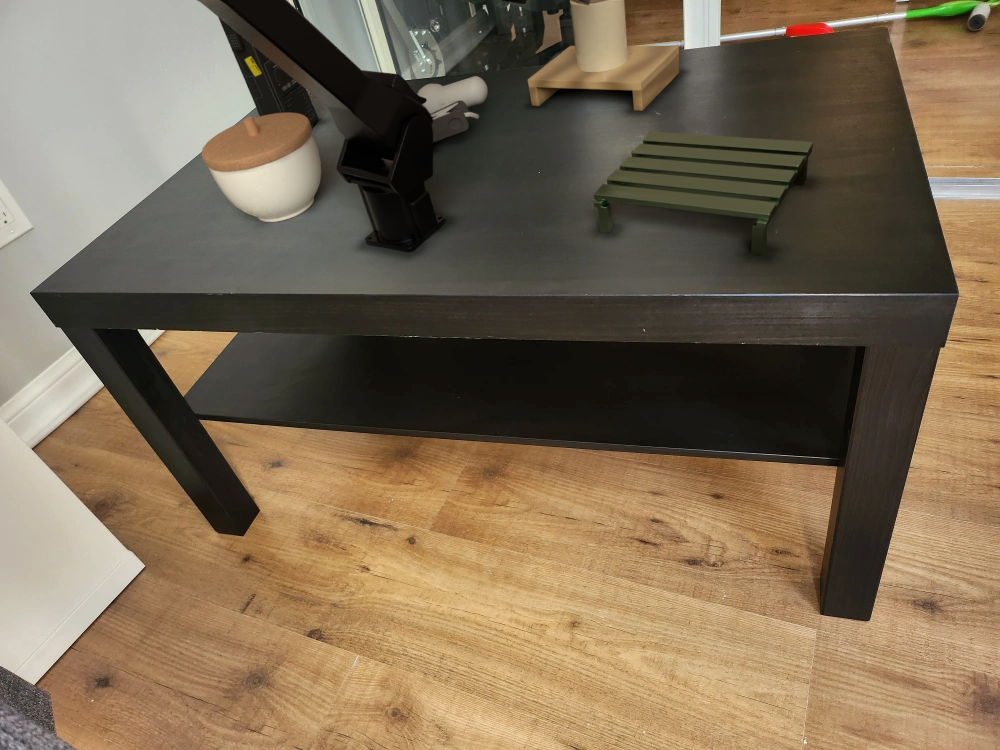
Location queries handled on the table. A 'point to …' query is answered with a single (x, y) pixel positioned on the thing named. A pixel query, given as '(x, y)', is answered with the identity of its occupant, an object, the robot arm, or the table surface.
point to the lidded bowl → (267, 165)
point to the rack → (708, 177)
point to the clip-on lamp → (453, 105)
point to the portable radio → (268, 81)
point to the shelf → (610, 75)
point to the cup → (599, 35)
